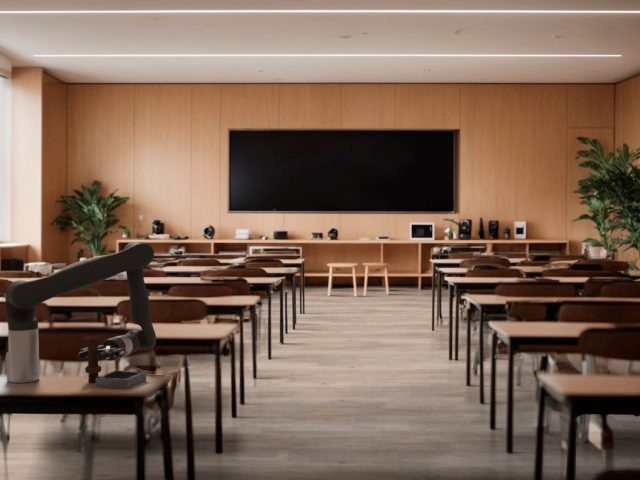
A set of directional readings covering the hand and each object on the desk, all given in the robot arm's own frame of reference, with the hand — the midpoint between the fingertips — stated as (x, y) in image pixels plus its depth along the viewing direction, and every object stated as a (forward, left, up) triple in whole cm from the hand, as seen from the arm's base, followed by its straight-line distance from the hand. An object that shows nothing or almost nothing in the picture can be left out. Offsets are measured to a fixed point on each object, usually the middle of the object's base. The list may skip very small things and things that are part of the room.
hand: (88, 356), depth 228 cm
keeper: (+10, +3, -9) cm, 14 cm away
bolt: (0, +2, -9) cm, 9 cm away
